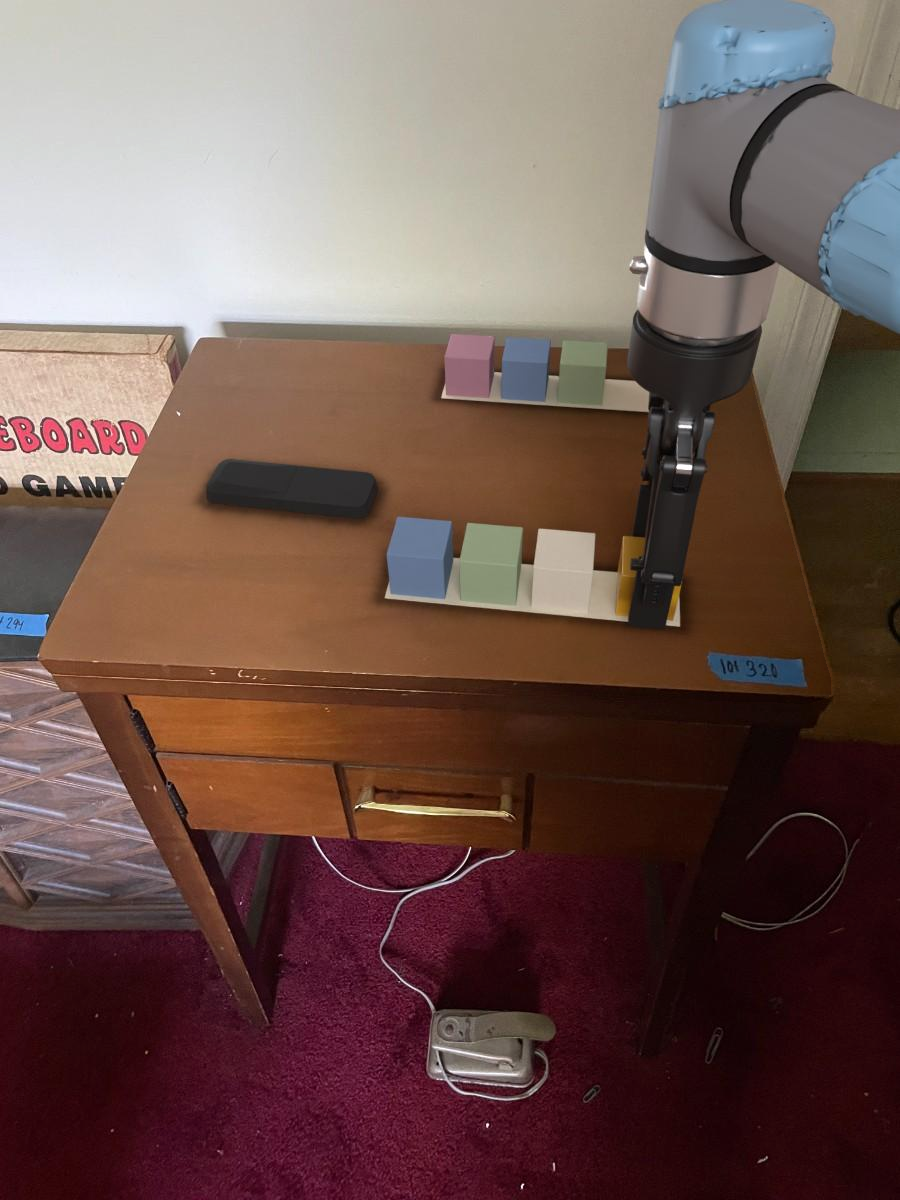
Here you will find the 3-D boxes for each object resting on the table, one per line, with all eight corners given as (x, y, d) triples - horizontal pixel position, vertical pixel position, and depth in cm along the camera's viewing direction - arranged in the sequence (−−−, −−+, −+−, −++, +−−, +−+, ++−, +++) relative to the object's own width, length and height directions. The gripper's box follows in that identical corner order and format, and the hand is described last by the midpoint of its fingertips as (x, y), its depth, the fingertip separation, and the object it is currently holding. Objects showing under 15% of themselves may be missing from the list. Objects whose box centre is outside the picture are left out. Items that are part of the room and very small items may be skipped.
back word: (673, 384, 91) (680, 344, 88) (674, 413, 87) (681, 373, 84) (449, 370, 94) (448, 331, 90) (441, 398, 90) (439, 358, 87)
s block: (672, 580, 72) (681, 540, 68) (673, 621, 69) (682, 580, 65) (616, 575, 72) (623, 535, 69) (615, 615, 69) (621, 575, 66)
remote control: (380, 488, 81) (222, 468, 83) (379, 473, 80) (219, 452, 82) (367, 524, 78) (203, 502, 80) (366, 508, 77) (199, 486, 78)
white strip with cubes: (678, 578, 72) (687, 537, 69) (679, 626, 68) (689, 585, 65) (397, 553, 75) (393, 512, 71) (384, 598, 71) (380, 557, 68)
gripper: (636, 236, 60) (602, 499, 77) (631, 408, 46) (591, 683, 63) (751, 241, 59) (692, 506, 76) (780, 418, 46) (700, 694, 62)
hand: (646, 586), depth 69 cm, fingers open, 7 cm apart
